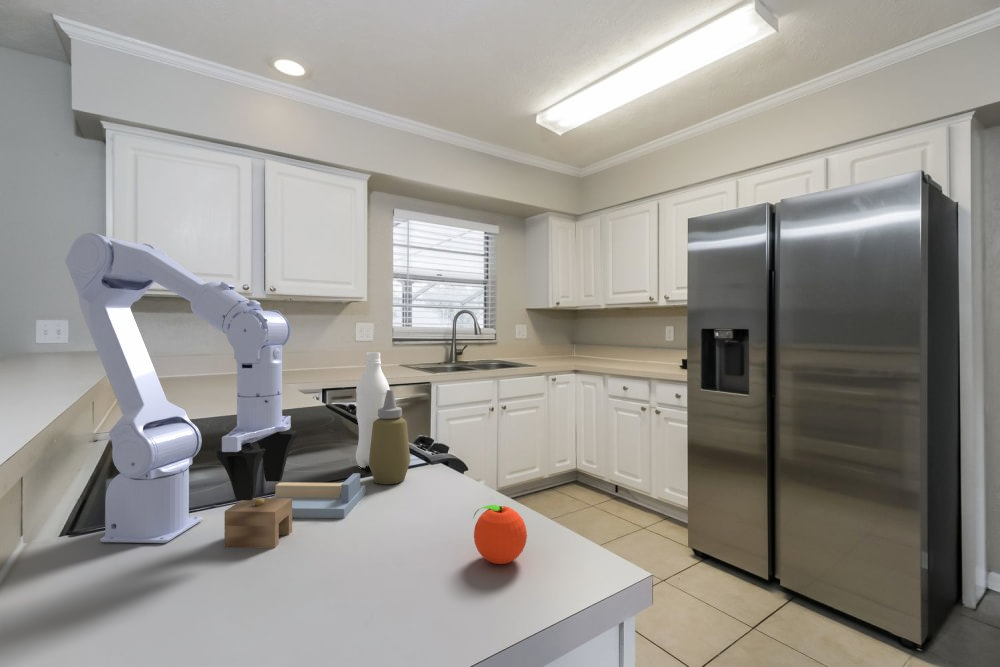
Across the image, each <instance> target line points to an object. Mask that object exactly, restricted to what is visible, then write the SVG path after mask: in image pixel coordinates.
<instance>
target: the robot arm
mask: <svg viewBox="0 0 1000 667" xmlns="http://www.w3.org/2000/svg"><path fill="white" fill-rule="evenodd" d="M64 261H65V263H66V267H67V269H68V272H69V273H70V274H69V275H70V276H71V279H72V281H73V284H74V287H75V289H76V292H77V294H78V302H79V307H80V310H81V313H82V315H83V317H84V320H85V322H86V326H87V328H88V331H89V334H90V335H91V338H92V341H93V343H94V345H95V348H96V351H97V353H98V356H99V359H100V361H101V364H102V366H103V369H104V371H105V373H106V375H107V380H109V383H110V386H111V389H112V391H113V394H114V396H115V399H116V402H117V403H118V406H119V409H120V412H121V414H122V416H121V417H120V418H119V420H117V422H116V423H115V424H114V425H113V426H112V427H111V428H110V431H109V432H108V435H109V438H110V441H111V445H112V451H111V454H112V455H111V456H112V458H111V459H112V462H113V465H114V466H115V467H116V468H115V469H117V471H118V472H119V473H118V474H117V475H116V476H115V477H113V479H112V480H111V481H110V483H109V485H108V487H107V489H106V492H105V506H104V507H105V512H104V513H105V518H104V519H105V523H104V524H105V526H104V527H105V529H104V530H105V532H104V533H105V535H104V536H103V537H101V538H100V541H99V542H101V543H139V544H141V543H144V544H145V543H146V544H147V543H149V544H150V543H152V544H153V543H154V544H164V543H168V542H169V541H171V540H174V539H175V538H176V537H178V536H179V535H181V534H183V533H184V532H186V531H187V530H189V529H191V528H192V527H194V526H196V525H197V524H199V523H200V522H201V521H203V517H202V516H189V515H190V511H189V510H190V509H189V507H190V504H189V503H190V501H189V499H190V498H189V497H190V496H189V494H190V485H189V484H190V468H189V466H191V465H193V458H195V457H196V456H197V454H198V453H199V451H200V450H201V447H202V443H203V442H202V434H201V431H200V429H199V428H198V426H197V425H195V423H193V422H192V421H191V420H190V418H189V417H188V414H187V412H186V410H185V409H184V408H181V407H179V406H178V405H176V404H174V403H171V402H170V401H168V399H167V396H166V394H165V392H164V389H163V387H162V385H161V382H160V380H159V377H158V374H157V371H156V370H155V367H154V365H153V361H152V359H151V357H150V354H149V352H148V350H147V346H146V345H145V342H144V340H143V337H142V335H141V332H140V330H139V327H138V325H137V324H138V323H136V319H135V318H134V315H133V313H132V309H131V307H132V305H133V304H134V303H136V302H138V301H139V300H141V298H142V297H143V296H144V295H145V293H146V292H147V291H148V290H149V289H150V288H151V287H152V286H153V285H154V284H155V283H156V284H158V285H160V286H162V287H163V288H165V289H167V290H169V291H171V292H172V293H174V294H177V296H180V297H181V298H183V299H185V300H187V301H189V302H190V304H189V305H190V308H191V309H190V310H191V311H192V313H193V314H194V315H195V316H197V317H198V318H200V319H202V320H203V321H205V322H206V323H208V324H210V325H211V326H213V327H214V328H216V329H218V330H219V331H220V332H222V333H224V334H225V335H226V339H227V341H228V343H229V344H230V345H231V347H232V349H233V352H234V354H233V356H234V357H233V358H234V360H235V362H236V426H235V427H234V428H233V429H232V430H230V432H228V434H225V435H224V436H222V437H221V447H220V448H217V449H216V458H217V459H218V461H219V462H220V463H221V465H222V466H223V469H225V471H226V473H227V475H228V479H229V480H230V484H231V488H232V491H233V493H234V498H235V500H236V501H241V500H252V499H254V498H255V494H256V491H257V482H258V475H259V474H258V473H259V468H260V464H261V461H262V466H263V467H262V468H263V469H262V470H263V474H264V479H265V482H278V483H280V482H281V481H282V479H283V477H284V476H283V475H284V471H285V467H286V462H287V459H288V455H289V454H290V451H291V448H292V445H293V443H294V442H295V440H296V438H297V435H298V434H297V433H298V432H297V430H290V429H291V428H292V425H291V423H292V422H291V420H292V419H291V418H292V416H291V415H283V347H284V346H285V345H286V344H287V343H288V342H289V339H290V336H291V325H290V322H289V320H288V319H287V317H286V316H285V315H283V314H282V313H281V312H280V310H276V309H267V310H264V309H263V307H262V306H261V302H259V301H257V300H255V299H248V298H247V297H245V296H244V295H242V294H240V293H239V292H237V291H235V289H236V286H235V285H233V284H232V283H231V282H226V281H221V282H220V281H210V282H205V280H203V279H201V278H200V277H198V276H197V275H195V274H194V273H193V272H191V271H190V270H188V269H187V268H185V267H184V266H183V265H181V264H180V263H179V262H177V261H176V260H174V259H173V258H171V257H170V256H168V253H167V252H166V251H164V250H161V249H158V248H157V247H155V246H154V245H151V244H148V243H140V242H139V243H138V242H133V241H129V240H128V241H127V240H124V239H120V238H119V239H118V238H112V237H109V236H104V235H102V234H99V233H96V232H86V233H85V232H84V233H83V234H80V235H79V236H78V237H77V238H76V239H75V240H74V241H73V242H72V245H71V247H70V249H69V250H68V254H67V255H66V257H65V259H64ZM254 442H257V444H258V446H259V448H254V446H252V445H251V444H253V443H254Z"/></svg>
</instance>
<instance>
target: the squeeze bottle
mask: <svg viewBox="0 0 1000 667" xmlns="http://www.w3.org/2000/svg"><path fill="white" fill-rule="evenodd" d="M378 417H379V418H378V419H376V420H375V421H374V422H373V427H372V436H371V446H370V455H369V465H368V467H369V466H370V467H369V469H370V471H371V475H372V478H373V481H374V482H375V483H376V484H378V483H379V485H393V484H394V483H395V484H398V482H399V483H401V482H403V481H405V479H406V476H407V473H408V470H409V466H410V464H411V454H410V453H411V452H410V444H409V432H408V424H407V420H406V419H405V418H403V408H402V407H401V406H400V407H399V406H398V405H397V403H396V398H395V393H394V390H393V389H390V390H387V393H386V397H385V402H384V406H383V408H379V409H378Z"/></svg>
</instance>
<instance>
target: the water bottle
mask: <svg viewBox="0 0 1000 667" xmlns="http://www.w3.org/2000/svg"><path fill="white" fill-rule="evenodd" d="M365 353H366V354H365V356H366V357H365V362H364V365H365V367H364V368H365V369H364V372H363V373H362V374H361V376H360V379H359V381H358V382H357V385H356V388H355V395H356V399H355V400H356V405H355V406H356V407H355V408H356V413H355V417H356V420H357V423H358V424H357V426H358V441H357V442H358V443H357V446H356V450H355V460H356V463H357V465H358V467H359V466H360V467H366V466H367V467H369V468H370V466H369V455H370V446H371V436H372V427H373V422H374V421H375V420H376V419H378V418H379V417H378V409H379V408H383V406H384V402H385V397H386V393H387V390H391V389H390V385H389V382H388V380H387V378H386V376H385V374H384V372H383V370H382V368H381V364H382V362H381V361H382V359H381V352H378V351H377V352H375V351H371V352H365ZM360 467H359V468H360Z"/></svg>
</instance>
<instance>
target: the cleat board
mask: <svg viewBox="0 0 1000 667" xmlns="http://www.w3.org/2000/svg"><path fill="white" fill-rule="evenodd" d="M274 490H275V492H274V493H275V494H274V495H273V496H272V497H270V498H292V519H293V517H294V519H295V518H297V519H304V518H305V519H345V518H346V517H348V515H349V514H350V512H351V511H352V510H353V509H354V508H355V507H356V505H357V504H358V503H359V502H360V501H361V500H362V498H363V497H364V496H365V495H366V494H365V493H366V485H361V473H359V472H356V473H355V472H353V473H352V474H351V475H350V476H349V477H348V478H347V479H345V481H343V482H292V481H291V482H290V481H289V482H285V481H284V482H281V481H279V482H278V483H277V484H275V488H274ZM364 494H365V495H364ZM363 495H364V496H363ZM360 499H361V500H360ZM359 500H360V501H359ZM358 501H359V502H358ZM353 507H354V508H353Z"/></svg>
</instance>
